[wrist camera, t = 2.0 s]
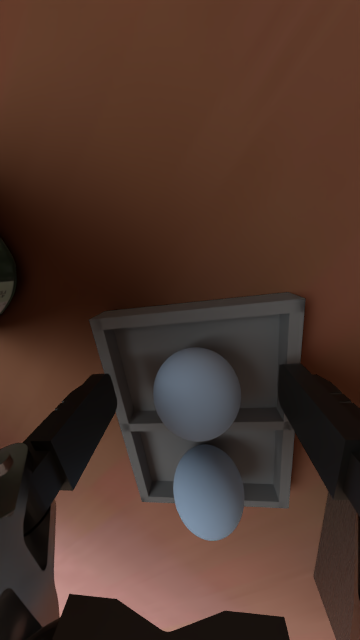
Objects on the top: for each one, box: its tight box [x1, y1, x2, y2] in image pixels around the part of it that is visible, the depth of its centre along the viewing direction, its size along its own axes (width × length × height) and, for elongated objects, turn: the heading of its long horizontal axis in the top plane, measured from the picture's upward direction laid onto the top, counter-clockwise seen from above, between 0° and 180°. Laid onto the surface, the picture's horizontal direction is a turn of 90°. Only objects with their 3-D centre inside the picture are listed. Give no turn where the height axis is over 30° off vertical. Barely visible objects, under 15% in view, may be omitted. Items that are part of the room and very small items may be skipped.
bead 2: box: [173, 445, 244, 541], centre depth 11 cm, size 4×4×4 cm
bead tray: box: [89, 292, 305, 508], centre depth 11 cm, size 10×14×2 cm
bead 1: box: [153, 347, 241, 442], centre depth 9 cm, size 4×4×4 cm
